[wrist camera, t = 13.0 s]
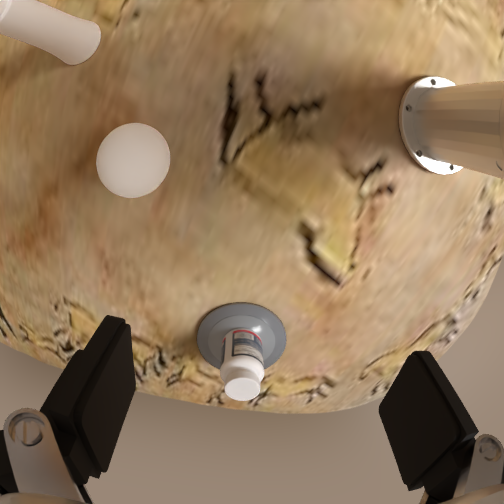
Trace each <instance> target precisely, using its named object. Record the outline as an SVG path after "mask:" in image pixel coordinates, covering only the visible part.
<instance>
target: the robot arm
mask: <svg viewBox="0 0 504 504" xmlns="http://www.w3.org/2000/svg"><path fill="white" fill-rule="evenodd" d="M406 108H407V110H406ZM399 128H400V132H401V136H402V140H403V142H404V145H405V147H406V149H407V150H408V152H409V154H410V155H411V157H412V158H413V159H414V160H415V161H416V163H418V164H419V165H420V166H421V167H422V168H424V169H426V170H428V171H430V172H433V173H436V174H442V175H446V174H452V173H455V172H457V171H459V170H460V169H462V168H467V169H470V170H474V171H478V172H481V173H485V174H488V175H492V176H495V177H498V178H501V179H504V81H498V82H484V83H473V84H464V85H456V84H454V83H453V82H452V81H450V80H448V79H445V78H443V77H438V76H428V77H424V78H421V79H419V80H417V81H415V82H414V83H412V84H411V85H410V86H409V87H408V89H407V90H406V91H405V93H404V95H403V98H402V100H401V104H400V108H399ZM416 152H417V154H416ZM135 387H136V380H135V372H134V362H133V352H132V340H131V328H130V325H129V324H126V323H125V319H123V318H119V317H114V316H110V315H107V316H106V317H105V318H104V319H103V321H102V322H101V324H100V325H99V327H98V328H97V330H96V331H95V333H94V335H93V336H92V338H91V339H90V341H89V342H88V344H87V345H86V347H85V349H84V350H80V349H79V350H77V351H76V352H75V354H74V355H73V357H72V358H71V360H70V361H69V363H68V364H67V366H66V368H65V369H64V371H63V373H62V374H61V376H60V377H59V379H58V380H57V382H56V384H55V386H54V387H53V389H52V390H51V392H50V394H49V395H48V397H47V399H46V401H45V402H44V404H43V406H42V407H41V409H40V411H38V410H36V409H31V408H21V409H19V410H16V411H14V412H13V413H11V414H10V415H9V416H8V417H7V419H6V420H5V423H4V430H0V504H94V502H93V500H92V498H91V496H90V494H89V492H88V490H87V488H86V486H85V484H86V483H87V482H88V479H89V476H92V477H95V478H98V479H99V477H100V474H101V472H107V470H108V467H109V464H110V461H111V458H112V455H113V452H114V449H115V446H116V443H117V440H118V437H119V434H120V431H121V428H122V425H123V422H124V420H125V417H126V414H127V411H128V409H129V406H130V403H131V400H132V397H133V395H134V392H135ZM379 414H380V417H381V420H382V423H383V425H384V428H385V431H386V433H387V436H388V439H389V442H390V445H391V447H392V451H393V453H394V456H395V459H396V462H397V465H398V468H399V471H400V474H401V477H402V480H403V482H404V484H406V485H407V487H408V490H409V491H412V490H415V489H419V488H421V487H423V486H424V488H425V491H424V494H423V496H422V499H421V501H420V503H419V504H504V448H503V446H502V444H501V442H500V441H499V440H498V439H497V438H495V437H494V436H492V435H489V434H483V435H481V436H479V437H478V438H477V439H476V440H475V438H474V436H475V435H476V434H477V433H478V432H479V431H478V429H477V427H476V426H475V424H474V422H473V421H472V419H471V417H470V415H469V414H468V412H467V410H466V408H465V407H464V405H463V403H462V402H461V400H460V398H459V397H458V395H457V393H456V392H455V390H454V388H453V387H452V385H451V384H450V382H449V380H448V379H447V377H446V376H445V374H444V373H443V371H442V369H441V368H440V367H439V365H438V363H437V362H436V360H435V359H434V357H433V356H432V354H431V353H430V352H429V351H414V352H413V353H412V354H411V355H409V356H408V357H407V359H406V361H405V363H404V365H403V366H402V368H401V370H400V372H399V374H398V375H397V377H396V379H395V381H394V382H393V384H392V386H391V387H390V389H389V391H388V392H387V394H386V396H385V397H384V399H383V400H382V402H381V404H380V406H379Z"/></svg>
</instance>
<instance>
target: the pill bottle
mask: <svg viewBox="0 0 504 504" xmlns="http://www.w3.org/2000/svg"><path fill="white" fill-rule="evenodd" d="M220 375H221V378H222V380H223V381H224V383H225V393H226V394H227V395H228V396H229V397H230V398H232V399H235V400H239V401H246V400H250V399H253V398H255V397H256V396H257V395H258V394H259V392H260V382H261V380H262V379H263V376H264V362H263V350H262V341H261V338H260V337H259V335H258V334H257V333H256V332H254V331H252V330H250V329H246V328H238V329H234V330H232V331H230V332H229V333H227V334H226V335H225V337H224V339H223V342H222V351H221V363H220Z"/></svg>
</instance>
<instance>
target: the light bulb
mask: <svg viewBox="0 0 504 504" xmlns="http://www.w3.org/2000/svg"><path fill="white" fill-rule="evenodd" d="M96 166H97V172H98V175H99V178H100V180H101V181H102V183H103V184H104V186H105V187H106V188H107V189H108V190H109V191H111V192H112V193H114V194H116V195H118V196H122V197H125V198H137V197H141V196H144V195H147V194H149V193H151V192H152V191H154V190H155V189H156V188H157V187H158V186H159V185H160V184H161V183H162V181H163V180H164V179H165V177H166V175H167V173H168V170H169V166H170V151H169V147H168V144H167V142H166V140H165V138H164V137H163V136H162V135H161V133H160V132H158V131H157V130H156V129H155V128H153V127H151V126H149V125H146V124H142V123H130V124H125V125H122V126H119V127H117V128H116V129H114V130H113V131H111V132H110V133H109V134H108V135H107V136H106V137H105V138H104V140H103V141H102V143H101V145H100V147H99V149H98V153H97V159H96Z"/></svg>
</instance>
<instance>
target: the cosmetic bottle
mask: <svg viewBox="0 0 504 504" xmlns="http://www.w3.org/2000/svg"><path fill="white" fill-rule="evenodd" d="M0 34H3V35H5V36H8V37H11V38H14V39H17V40H19V41H22V42H25V43H27V44H30V45H33V46H35V47H38V48H40V49H42V50H45V51H47V52H49V53H51V54H52V55H54V56H56V57H58V58H59V59H61V60H62V61H63V62H65V63H66V64H69V65H77V64H80V63H82V62H84V61H86V60H87V59H88V58H90V57H91V56H92V55H93V53H94V52H95V51H96V49H97V47H98V45H99V43H100V39H101V31H100V28H99V26H98V25H97V24H96V23H94V22H92V21H88V20H84V19H81V18H78V17H75V16H72V15H70V14H67V13H65V12H62V11H60V10H58V9H55V8H53V7H51V6H48V5H46V4H44V3H41V2H39V1H36V0H0Z"/></svg>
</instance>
